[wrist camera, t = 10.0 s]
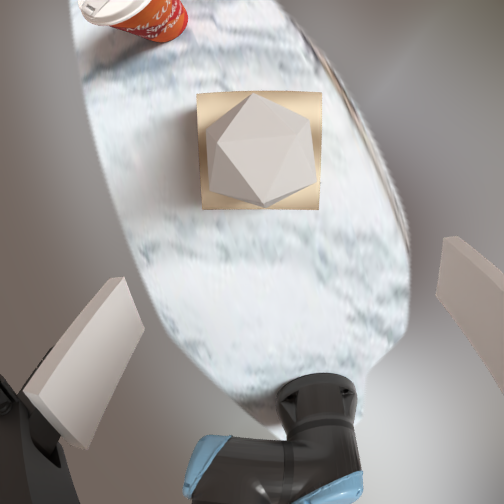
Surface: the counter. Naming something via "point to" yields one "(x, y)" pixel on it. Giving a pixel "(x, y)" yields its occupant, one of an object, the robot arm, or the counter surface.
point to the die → (260, 152)
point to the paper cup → (138, 17)
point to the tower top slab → (296, 101)
